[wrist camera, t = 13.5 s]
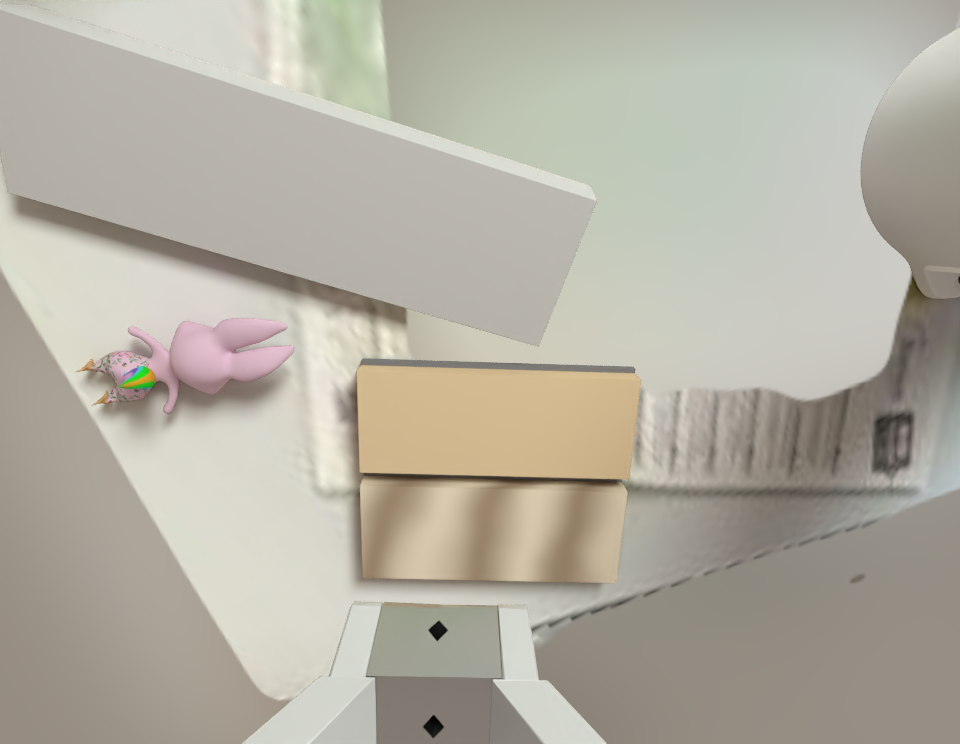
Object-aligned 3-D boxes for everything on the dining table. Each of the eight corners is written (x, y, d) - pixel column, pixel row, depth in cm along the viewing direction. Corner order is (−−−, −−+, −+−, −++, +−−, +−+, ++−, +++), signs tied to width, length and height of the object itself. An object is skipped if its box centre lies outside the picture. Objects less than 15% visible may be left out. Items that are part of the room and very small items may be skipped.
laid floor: (632, 366, 39) (641, 375, 37) (608, 573, 43) (615, 590, 41) (362, 358, 38) (356, 366, 36) (367, 567, 43) (362, 585, 41)
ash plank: (622, 482, 40) (627, 492, 39) (611, 570, 42) (616, 583, 41) (363, 475, 40) (359, 485, 38) (366, 565, 42) (362, 577, 41)
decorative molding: (536, 315, 40) (588, 182, 35) (538, 346, 36) (596, 201, 31) (63, 175, 37) (44, 6, 32) (6, 192, 33) (-26, 1, 28)
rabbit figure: (137, 412, 41) (317, 374, 37) (68, 448, 35) (274, 406, 32) (100, 332, 39) (286, 285, 36) (22, 357, 33) (234, 303, 30)
